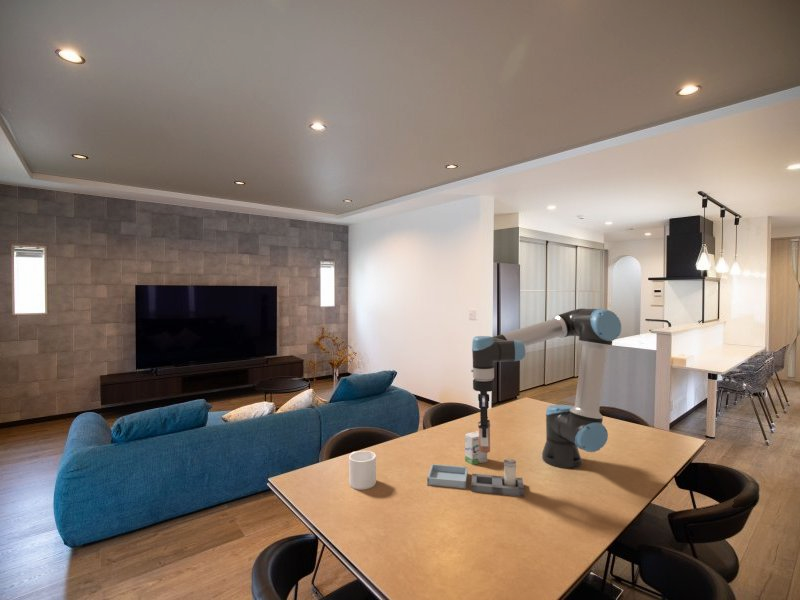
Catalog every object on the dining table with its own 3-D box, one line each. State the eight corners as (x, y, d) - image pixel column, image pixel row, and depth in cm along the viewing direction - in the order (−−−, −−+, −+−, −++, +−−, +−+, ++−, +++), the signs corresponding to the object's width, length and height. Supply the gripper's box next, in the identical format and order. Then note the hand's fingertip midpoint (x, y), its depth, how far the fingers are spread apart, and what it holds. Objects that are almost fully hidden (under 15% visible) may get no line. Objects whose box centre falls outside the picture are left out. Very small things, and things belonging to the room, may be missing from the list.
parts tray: (467, 474, 149) (467, 467, 149) (465, 489, 137) (465, 481, 137) (431, 471, 152) (431, 464, 152) (427, 486, 141) (427, 477, 141)
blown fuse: (490, 448, 141) (490, 421, 140) (490, 453, 136) (490, 425, 136) (478, 447, 141) (478, 420, 141) (478, 452, 137) (478, 424, 137)
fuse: (515, 486, 139) (515, 459, 138) (516, 492, 134) (516, 464, 134) (503, 485, 139) (503, 458, 139) (504, 491, 135) (504, 463, 135)
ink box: (472, 466, 157) (472, 437, 157) (464, 461, 161) (464, 433, 161) (488, 461, 161) (487, 433, 161) (480, 457, 165) (479, 430, 165)
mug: (381, 484, 142) (380, 457, 142) (357, 493, 136) (357, 464, 136) (363, 472, 152) (363, 446, 152) (341, 479, 146) (340, 452, 146)
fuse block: (522, 485, 140) (522, 478, 140) (524, 497, 132) (524, 490, 132) (472, 480, 144) (472, 473, 144) (471, 492, 136) (471, 484, 136)
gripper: (473, 374, 148) (474, 434, 148) (471, 384, 131) (473, 451, 131) (493, 374, 146) (494, 435, 146) (494, 384, 130) (495, 453, 130)
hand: (484, 443), depth 139 cm, fingers closed on blown fuse, 4 cm apart
